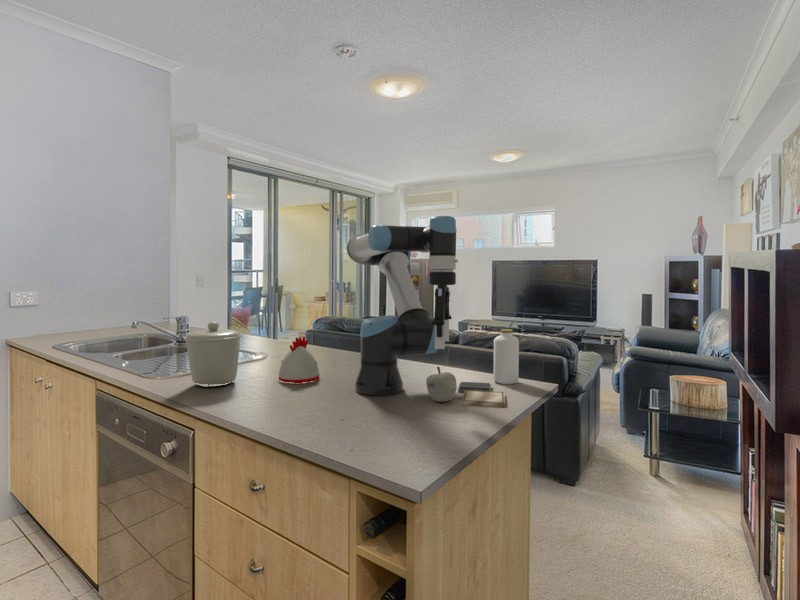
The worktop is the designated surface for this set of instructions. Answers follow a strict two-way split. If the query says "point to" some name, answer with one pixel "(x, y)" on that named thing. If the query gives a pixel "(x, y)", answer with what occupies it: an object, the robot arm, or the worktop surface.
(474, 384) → the ink pad
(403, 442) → the worktop surface
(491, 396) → the board
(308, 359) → the grey knit hat
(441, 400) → the decorative object
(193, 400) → the worktop surface
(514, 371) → the potion bottle
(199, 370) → the canister
